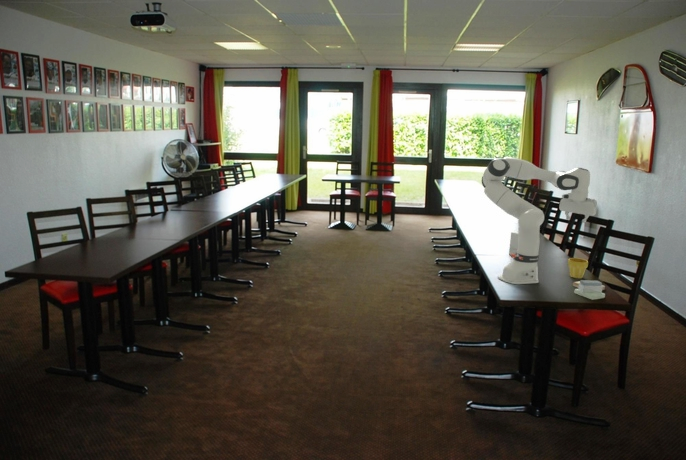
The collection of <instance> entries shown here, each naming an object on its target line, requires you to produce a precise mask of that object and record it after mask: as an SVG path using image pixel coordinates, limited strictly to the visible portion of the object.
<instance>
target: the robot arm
mask: <svg viewBox="0 0 686 460" xmlns="http://www.w3.org/2000/svg"><path fill="white" fill-rule="evenodd" d="M505 177H510V178H514V179H516V180H523V181H529V180H540V181H544V182H547V183H550V184H552V185H553V186H554V187H555V188H557V189H559V190H562V191H570V190H571V191H570V192H568V193H563V194H561V199H560V200H559V201H560V202H559V206H558V207H559V208H558V209H559V210H560V211H561V212H564V215H565V220H568V221H569V220H571V216H570V215H569V213H573V214H578V215H584V218H583V219H582V220H581V223H586V222H587V220H588V218H589V217H590V216H592V217H593V216H595V215H596V214H597V206H598V202H597V200H596V199H595V198H589V187H590V183H591V182H590V181H591V172H590V171H589V169H587V168H583V167H575V168H573V169H571V170H569V171H565V170H558V171H551V170H548V169H544V168H540V167H538V166H536V165H535V164H534V163H532V162H531V161H528V160H525V159H521V158H517V157H510V156H509V157H508V156H505V157H503V158H494V159H492V160H491V161H490V162H489V163H488V165H487V167H486V168H485V170H484V172H483V174H482V177H481V184H482V187H483V188H484V189H483V190H484V192H483V193H484V195H485V196H486V197H487V198H488V199H489V201H491V202H492V203H493V204H495V205H496V206H497V207H498V208H500V209H501V210H503V212H505V213H506V214H508V215H510V216H512V217H514V218H515V219H517V223H518V225H517V226H518V227H517V231H518V235H519V238H518V248H517V252H516V254H511V255H510V257H511V258H513V259H512V261H510V262H509V263H508V264H507V265H505V266H504V268H503V271H502V274H500V275H497V279H498V280H501V281H503V282H505V283H509V284H513V285H525V284H526V285H528V284H539V276H538V275H539V273H538V272H539V267H538V262H539V256H540V255H539V250H540V249H539V248H540V243H541V241H540V240H541V239H540V230H541V229H540V228H541V226H542V224H543V223H544V221H545V214H544V211H542V210H541V208H539V207H537V206H535V205H533V204H532V203H530V202H529V201H527V200H526V199H523V198H522V197H520V196H519V195H518V194H517V193H515V192H514V191H513V190H511V189H510V188H509V187H507V186H505V185H504V183H503V182H502V181H504V178H505Z"/></svg>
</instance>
